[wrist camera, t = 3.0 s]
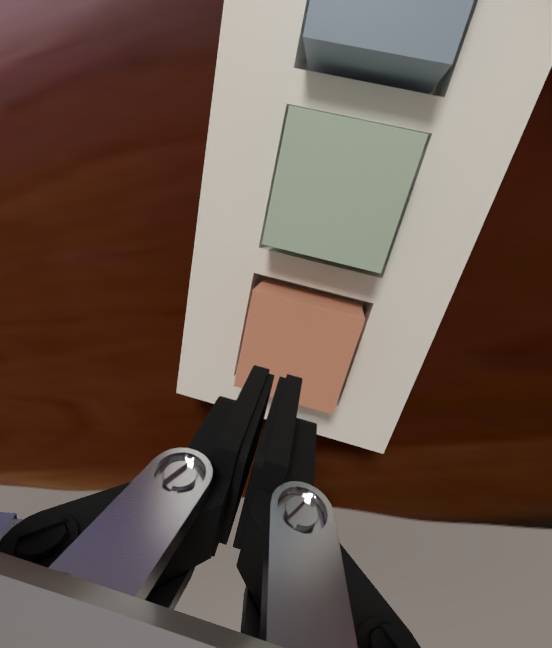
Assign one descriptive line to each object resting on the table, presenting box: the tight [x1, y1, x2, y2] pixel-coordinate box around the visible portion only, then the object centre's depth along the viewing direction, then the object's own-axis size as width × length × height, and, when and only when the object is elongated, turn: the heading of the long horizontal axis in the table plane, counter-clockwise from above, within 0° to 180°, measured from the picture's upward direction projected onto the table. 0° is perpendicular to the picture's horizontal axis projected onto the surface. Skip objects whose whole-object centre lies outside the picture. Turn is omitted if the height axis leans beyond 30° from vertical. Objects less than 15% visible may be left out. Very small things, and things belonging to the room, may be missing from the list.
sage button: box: [262, 105, 428, 274], centre depth 13 cm, size 5×5×3 cm
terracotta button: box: [234, 278, 365, 415], centre depth 16 cm, size 5×5×3 cm
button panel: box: [176, 0, 552, 454], centre depth 15 cm, size 12×24×3 cm, turn 168°
